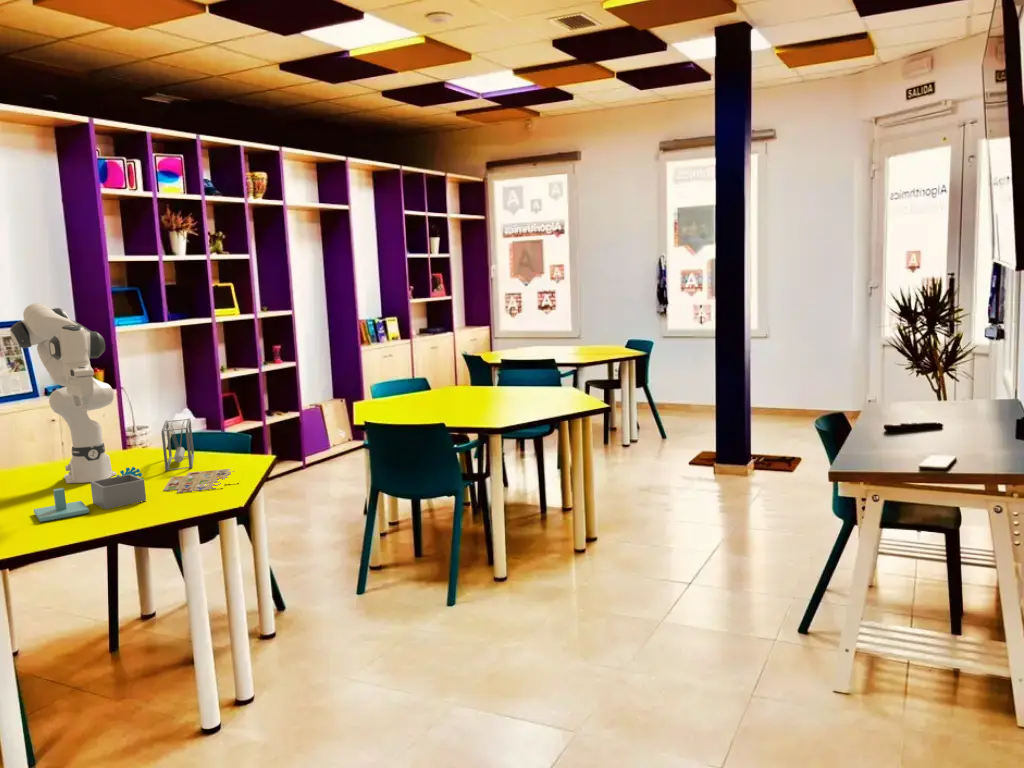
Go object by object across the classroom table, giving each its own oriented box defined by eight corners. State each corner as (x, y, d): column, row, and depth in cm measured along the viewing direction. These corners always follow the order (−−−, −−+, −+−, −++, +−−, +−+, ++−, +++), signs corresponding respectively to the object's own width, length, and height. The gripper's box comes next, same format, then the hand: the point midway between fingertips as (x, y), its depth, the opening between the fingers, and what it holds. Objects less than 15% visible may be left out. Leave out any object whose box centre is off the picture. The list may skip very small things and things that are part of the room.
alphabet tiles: (160, 496, 313) (160, 493, 313) (173, 476, 345) (173, 473, 345) (238, 488, 320) (238, 485, 320) (244, 469, 352) (244, 466, 352)
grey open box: (92, 503, 307) (90, 481, 306) (133, 495, 316) (130, 474, 315) (105, 509, 296) (102, 487, 295) (146, 501, 306) (143, 479, 305)
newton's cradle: (192, 469, 356) (188, 427, 353) (165, 472, 352) (161, 430, 350) (194, 455, 384) (190, 417, 382) (169, 458, 381) (165, 419, 378)
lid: (34, 515, 295) (31, 489, 294) (81, 506, 304) (78, 481, 303) (40, 524, 283) (36, 497, 282) (89, 515, 292) (86, 489, 290)
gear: (109, 486, 325) (121, 464, 330) (116, 494, 329) (128, 472, 335) (135, 490, 323) (147, 468, 328) (142, 498, 327) (153, 475, 333)
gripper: (59, 369, 313) (64, 406, 315) (76, 372, 298) (80, 411, 300) (78, 367, 317) (82, 404, 319) (95, 370, 302) (99, 408, 304)
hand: (81, 407), depth 309 cm, fingers open, 8 cm apart
